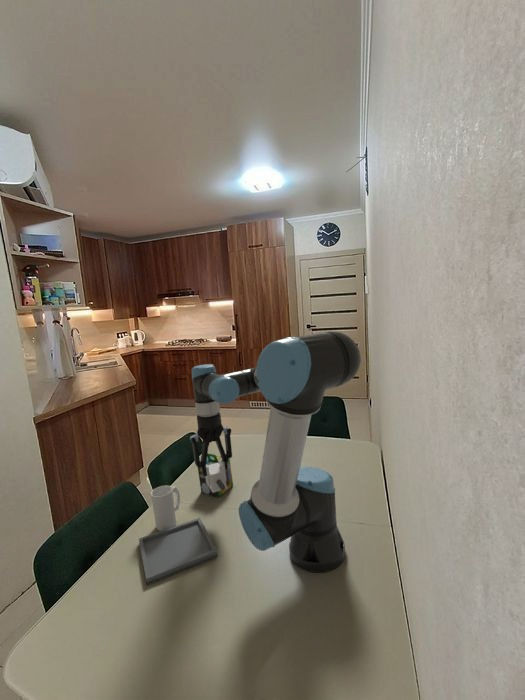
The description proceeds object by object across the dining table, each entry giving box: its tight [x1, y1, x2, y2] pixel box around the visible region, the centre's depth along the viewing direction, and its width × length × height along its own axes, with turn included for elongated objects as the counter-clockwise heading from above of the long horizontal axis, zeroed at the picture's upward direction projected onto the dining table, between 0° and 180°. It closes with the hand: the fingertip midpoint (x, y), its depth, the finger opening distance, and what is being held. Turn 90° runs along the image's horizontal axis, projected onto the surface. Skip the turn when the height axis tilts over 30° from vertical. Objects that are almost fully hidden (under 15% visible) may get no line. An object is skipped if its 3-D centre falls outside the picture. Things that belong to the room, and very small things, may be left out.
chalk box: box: [197, 453, 234, 498], centre depth 132 cm, size 9×9×15 cm
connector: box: [208, 463, 227, 493], centre depth 112 cm, size 15×5×6 cm, turn 25°
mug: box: [150, 485, 181, 532], centre depth 114 cm, size 10×7×12 cm, turn 144°
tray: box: [138, 517, 218, 586], centre depth 101 cm, size 18×19×2 cm
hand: (216, 481), depth 113 cm, fingers closed on connector, 5 cm apart
